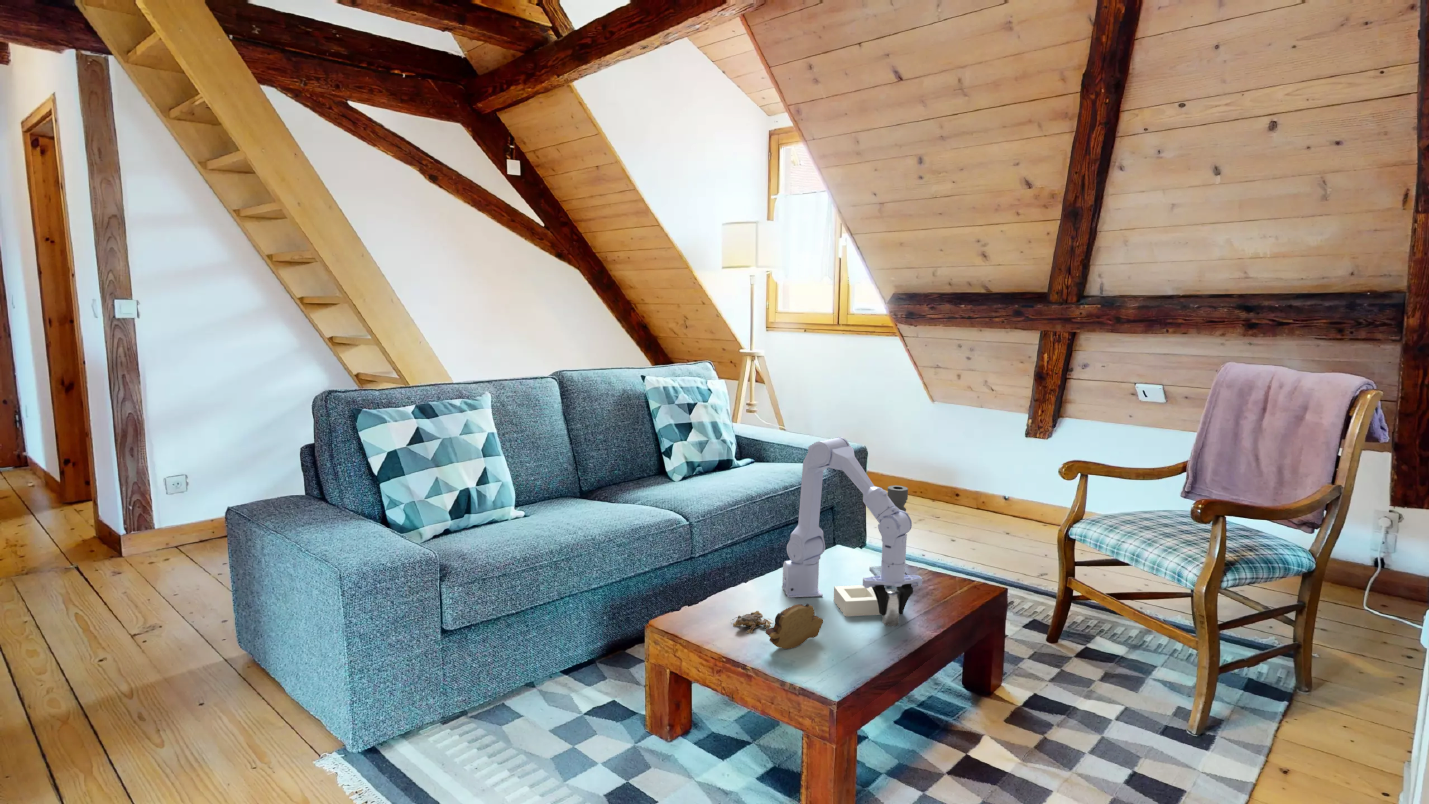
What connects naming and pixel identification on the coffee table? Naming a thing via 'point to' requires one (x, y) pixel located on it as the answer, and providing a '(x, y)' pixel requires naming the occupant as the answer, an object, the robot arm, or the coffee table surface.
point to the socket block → (856, 600)
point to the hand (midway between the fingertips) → (890, 613)
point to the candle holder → (898, 496)
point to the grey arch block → (877, 571)
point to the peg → (892, 608)
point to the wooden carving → (794, 626)
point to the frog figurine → (752, 621)
